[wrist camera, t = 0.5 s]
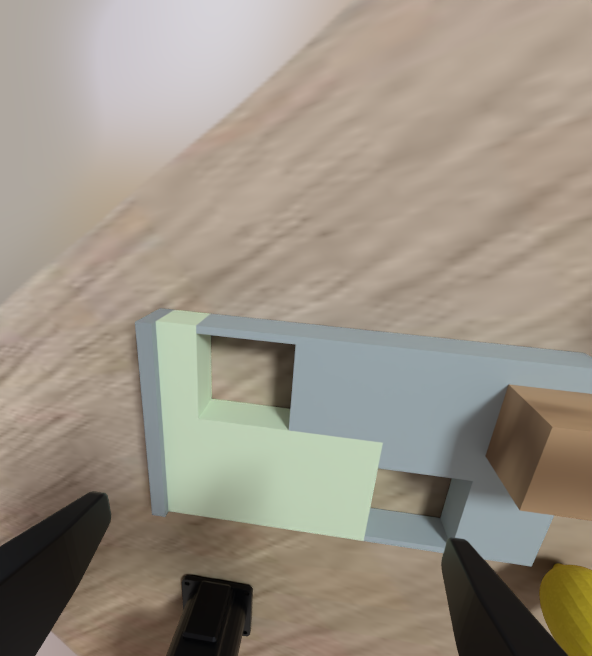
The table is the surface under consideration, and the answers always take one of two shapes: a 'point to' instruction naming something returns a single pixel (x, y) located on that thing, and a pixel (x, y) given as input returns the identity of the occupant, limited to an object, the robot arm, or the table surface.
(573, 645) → the lemon
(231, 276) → the table surface
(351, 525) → the board
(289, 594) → the table surface
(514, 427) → the block
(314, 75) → the table surface
